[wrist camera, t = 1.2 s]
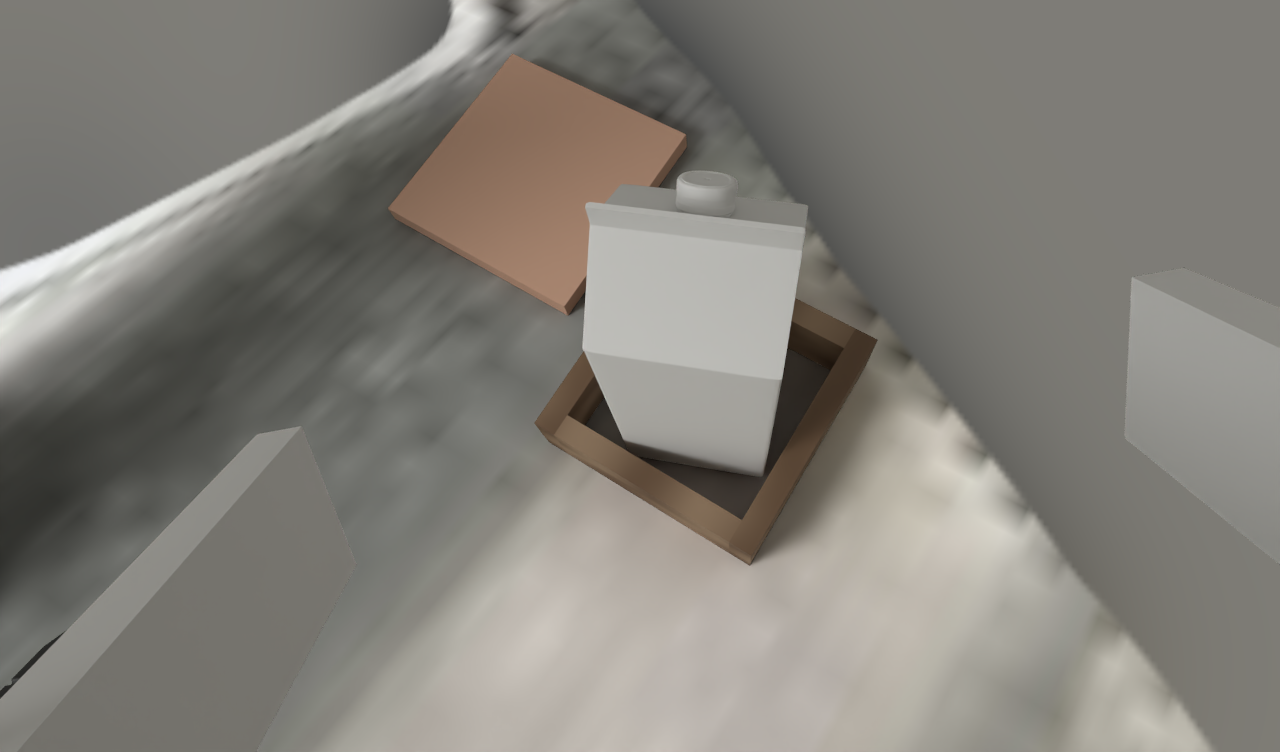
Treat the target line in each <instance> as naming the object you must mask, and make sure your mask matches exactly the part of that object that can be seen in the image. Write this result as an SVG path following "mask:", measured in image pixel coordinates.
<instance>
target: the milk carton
mask: <svg viewBox="0 0 1280 752" xmlns="http://www.w3.org/2000/svg"><path fill="white" fill-rule="evenodd" d="M737 190H738V181H737V179H736V178H735V177H733V176H731V175H728V174H725V173H721V172H715V171H704V170H697V171H689V172H685V173H683V174H681V175H680V176H679V177H678V179H677V187H676V190H675V189H666V188H658V187H649V186H640V185H629V184H621V185H620V186H619V187H618V188H617V189H616V191H615V192H614V193H613V194H612V195H611V196H610V198H609V199H608V200H607V201H606V202H605V203H604V204H603V203H594V202H588V203H586V205H585V209H586V212H587V216H588V219H589V222H590V229H589V246H588V263H587V280H586V296H585V313H584V330H583V348H582V349H583V350H584V352H585V354H586V356H587V359H588V361H589V363H590V365H591V368H592V370H593V372H594V374H595V377H596V379H597V381H598V383H599V386H600V388H601V390H602V392H603V395H604V397H605V399H606V401H607V404H608V406H609V408H610V410H611V413H612V415H613V417H614V419H615V422H616V424H617V426H618V429H619V431H620V433H621V435H622V438H623V440H624V442H625V444H626V447H627V449H628V451H629V452H630V453H631V454H633V455H635V456H638V457H644V458H649V459H655V460H661V461H667V462H673V463H679V464H685V465H691V466H696V467H702V468H708V469H714V470H720V471H726V472H732V473H738V474H744V475H750V476H757V477H762V476H763V475H764V472H765V467H766V461H767V456H768V451H769V446H770V440H771V435H772V430H773V425H774V419H775V414H776V409H777V403H778V398H779V393H780V388H781V382H782V378H783V371H784V365H785V359H786V352H787V346H788V340H789V333H790V327H791V321H792V314H793V308H794V302H795V296H796V289H797V283H798V277H799V270H800V264H801V258H802V251H803V246H804V240H805V235H806V229H805V228H806V219H807V211H808V205H802V204H797V203H789V202H780V201H772V200H763V199H753V198H745V197H736V196H737Z"/></svg>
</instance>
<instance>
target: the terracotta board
mask: <svg viewBox="0 0 1280 752" xmlns="http://www.w3.org/2000/svg"><path fill="white" fill-rule="evenodd" d="M686 147H687V141H686V134H684V133H682V132H680V131H677V130H675V129H673V128H671V127H669V126H667V125H665V124H662V123H660V122H658V121H656V120H654V119H652V118H649V117H647V116H645V115H643V114H641V113H639V112H637V111H634V110H632V109H630V108H628V107H626V106H624V105H621V104H619V103H617V102H615V101H613V100H611V99H609V98H606V97H604V96H602V95H600V94H598V93H596V92H593V91H591V90H589V89H587V88H585V87H583V86H581V85H578V84H576V83H574V82H572V81H570V80H568V79H565V78H563V77H561V76H559V75H557V74H555V73H553V72H550V71H548V70H546V69H544V68H542V67H540V66H538V65H535V64H533V63H531V62H529V61H527V60H525V59H522V58H520V57H518V56H516V55H514V54H512V55H511V56H510V57H509V58H508V60H507V61H506V62H505V63H504V65H503V66H502V67H501V68H500V70H499V71H498V72H497V73H496V75H495V76H494V77H493V78H492V80H491V81H490V82H489V83H488V84H487V86H486V87H485V88H484V89H483V91H482V92H481V93H480V94H479V96H478V97H477V98H476V99H475V101H474V102H473V103H472V104H471V106H470V107H469V108H468V109H467V111H466V112H465V113H464V114H463V116H462V117H461V118H460V119H459V121H458V122H457V123H456V124H455V125H454V127H453V128H452V129H451V130H450V132H449V133H448V134H447V135H446V137H445V138H444V139H443V140H442V142H441V143H440V144H439V145H438V147H437V148H436V149H435V150H434V152H433V153H432V154H431V155H430V157H429V158H428V159H427V160H426V162H425V163H424V164H423V165H422V167H421V168H420V169H419V170H418V171H417V173H416V174H415V175H414V176H413V178H412V179H411V180H410V181H409V183H408V184H407V185H406V186H405V188H404V189H403V190H402V191H401V193H400V194H399V195H398V196H397V198H396V199H395V200H394V201H393V203H392V204H391V205H390V206H389V208H388V209H389V211H390V212H391V213H392V215H393V216H394V218H395V219H397V220H398V221H400V222H402V223H404V224H405V225H407V226H409V227H411V228H413V229H414V230H416V231H418V232H420V233H421V234H423V235H425V236H427V237H429V238H430V239H432V240H434V241H436V242H438V243H439V244H441V245H443V246H445V247H447V248H448V249H450V250H452V251H454V252H455V253H457V254H459V255H461V256H463V257H464V258H466V259H468V260H470V261H472V262H473V263H475V264H477V265H479V266H480V267H482V268H484V269H486V270H488V271H489V272H491V273H493V274H495V275H497V276H498V277H500V278H502V279H504V280H505V281H507V282H509V283H511V284H513V285H514V286H516V287H518V288H520V289H522V290H523V291H525V292H527V293H529V294H530V295H532V296H534V297H536V298H538V299H539V300H541V301H543V302H545V303H547V304H548V305H550V306H552V307H554V308H555V309H557V310H559V311H561V312H563V313H564V314H566V315H569V314H570V312H571V311H572V309H573V308H574V307H575V305H576V304H577V302H578V301H579V299H580V298H581V297H582V295H583V294H584V292H585V291H586V280H587V263H588V246H589V229H590V222H589V219H588V216H587V212H586V209H585V205H586V203H588V202H594V203H603V204H604V203H605V202H606V201H607V200H608V199H609V198H610V196H611V195H612V194H613V193H614V192H615V191H616V189H617V188H618V187H619V186H620V185H621V184H629V185H640V186H649V187H659V186H660V184H661V183H662V182H663V180H664V179H665V177H666V176H667V174H668V173H669V172H670V170H671V169H672V167H673V166H674V164H675V163H676V162H677V160H678V159H679V157H680V156H681V155H682V153H683V152H684V150H685V149H686Z"/></svg>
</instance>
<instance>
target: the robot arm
mask: <svg viewBox="0 0 1280 752" xmlns="http://www.w3.org/2000/svg"><path fill="white" fill-rule="evenodd" d="M1125 438H1126V439H1127V440H1128V441H1129V442H1130V443H1132V444H1133V445H1134V446H1136V447H1137V448H1138V449H1139V450H1140V451H1141V452H1143V453H1144V454H1145V455H1146V456H1148V457H1149V458H1150V459H1151V460H1152V461H1154V462H1155V463H1156V464H1157V465H1159V466H1160V467H1161V468H1162V469H1164V470H1165V471H1166V472H1167V473H1168V474H1170V475H1171V476H1172V477H1173V478H1174V479H1176V480H1177V481H1178V482H1179V483H1181V484H1182V485H1183V486H1184V487H1185V488H1187V489H1188V490H1189V491H1190V492H1191V493H1193V494H1194V495H1195V496H1196V497H1198V498H1199V499H1200V500H1201V501H1202V502H1204V503H1205V504H1206V505H1207V506H1209V507H1210V508H1211V509H1212V510H1213V511H1215V512H1216V513H1217V514H1218V515H1220V516H1221V517H1222V518H1223V519H1225V520H1226V521H1227V522H1228V523H1229V524H1230V525H1232V526H1233V527H1235V529H1237V530H1238V531H1239V532H1240V533H1241V534H1243V535H1244V536H1245V537H1246V538H1248V539H1249V540H1250V541H1251V542H1252V543H1254V544H1255V545H1256V546H1257V547H1259V548H1260V549H1261V550H1262V551H1263V552H1265V553H1266V554H1267V555H1268V556H1270V557H1271V558H1272V559H1273V560H1274V561H1276V562H1277V563H1278V564H1279V565H1280V308H1279V307H1277V306H1275V305H1272V304H1270V303H1267V302H1265V301H1263V300H1260V299H1258V298H1256V297H1253V296H1251V295H1248V294H1246V293H1244V292H1241V291H1239V290H1236V289H1234V288H1232V287H1229V286H1227V285H1224V284H1222V283H1220V282H1217V281H1215V280H1212V279H1210V278H1208V277H1205V276H1203V275H1201V274H1198V273H1196V272H1193V271H1191V270H1189V269H1186V268H1179V269H1173V270H1168V271H1162V272H1157V273H1151V274H1146V275H1140V276H1134V277H1132V280H1131V304H1130V325H1129V348H1128V371H1127V395H1126V418H1125ZM356 565H357V564H356V562H355V559H354V557H353V554H352V552H351V549H350V547H349V544H348V542H347V539H346V537H345V534H344V532H343V529H342V526H341V524H340V521H339V519H338V516H337V514H336V511H335V509H334V506H333V504H332V501H331V499H330V496H329V494H328V491H327V489H326V486H325V484H324V481H323V479H322V476H321V473H320V471H319V468H318V466H317V463H316V461H315V458H314V456H313V453H312V451H311V448H310V446H309V443H308V441H307V438H306V436H305V433H304V431H303V428H302V426H300V427H294V428H289V429H283V430H277V431H272V432H266V433H261V434H257V435H256V436H255V437H254V438H253V439H252V440H251V441H250V442H249V443H248V444H247V445H246V446H245V447H244V448H243V449H242V450H241V451H240V452H239V453H238V454H237V455H236V456H235V457H234V458H233V459H232V461H231V462H230V463H229V464H228V465H227V466H226V467H225V468H224V469H223V470H222V471H221V472H220V473H219V474H218V475H217V476H216V477H215V478H214V479H213V480H212V481H211V482H210V483H209V484H208V485H207V486H206V487H205V488H204V489H203V490H202V491H201V492H200V493H199V495H198V496H197V497H196V498H195V499H194V500H193V501H192V502H191V503H190V504H189V505H188V506H187V507H186V508H185V509H184V510H183V511H182V512H181V513H180V514H179V515H178V516H177V517H176V518H175V519H174V520H173V521H172V522H171V523H170V524H169V525H168V526H167V528H166V529H165V530H164V531H163V532H162V533H161V534H160V535H159V536H158V537H157V538H156V539H155V540H154V541H153V542H152V543H151V544H150V545H149V546H148V547H147V548H146V549H145V550H144V551H143V552H142V553H141V554H140V555H139V556H138V557H137V558H136V559H135V560H134V562H133V563H132V564H131V565H130V566H129V567H128V568H127V569H126V570H125V571H124V572H123V573H122V574H121V575H120V576H119V577H118V578H117V579H116V580H115V581H114V582H113V583H112V584H111V585H110V586H109V587H108V588H107V589H106V590H105V591H104V592H103V593H102V595H101V596H100V597H99V598H98V599H97V600H96V601H95V602H94V603H93V604H92V605H91V606H90V607H89V608H88V609H87V610H86V611H85V612H84V613H83V614H82V615H81V616H80V617H79V618H78V619H77V620H76V621H75V622H74V623H73V624H72V625H71V626H70V627H69V629H68V630H66V631H65V632H64V633H62V634H61V635H59V636H58V637H57V638H55V639H54V640H52V641H51V642H50V643H48V644H47V645H45V646H44V647H43V648H42V649H41V650H40V651H39V652H38V653H37V654H36V655H35V656H34V657H33V658H32V659H31V660H30V661H29V662H28V663H27V664H26V665H25V666H24V667H23V668H22V669H21V670H20V671H19V672H18V673H17V674H16V675H15V676H14V677H13V678H12V684H11V685H8V686H5V687H4V688H3V689H2V690H1V691H0V752H256V751H257V749H258V747H259V745H260V743H261V742H262V740H263V738H264V736H265V734H266V732H267V730H268V729H269V727H270V725H271V723H272V721H273V719H274V717H275V716H276V714H277V712H278V710H279V708H280V706H281V704H282V703H283V701H284V699H285V697H286V695H287V693H288V691H289V690H290V688H291V686H292V684H293V682H294V680H295V678H296V677H297V675H298V673H299V671H300V669H301V667H302V665H303V664H304V662H305V660H306V658H307V656H308V654H309V652H310V651H311V649H312V647H313V645H314V643H315V641H316V639H317V638H318V636H319V634H320V632H321V630H322V628H323V626H324V625H325V623H326V621H327V619H328V617H329V615H330V613H331V612H332V610H333V608H334V606H335V604H336V602H337V600H338V599H339V597H340V595H341V593H342V591H343V589H344V587H345V586H346V584H347V582H348V580H349V578H350V576H351V575H352V573H353V571H354V569H355V567H356Z"/></svg>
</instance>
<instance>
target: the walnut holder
mask: <svg viewBox="0 0 1280 752" xmlns="http://www.w3.org/2000/svg"><path fill="white" fill-rule="evenodd" d="M876 342H877V339H875V338H873V337H871V336H869V335H867V334H865V333H863V332H861V331H859V330H857V329H855V328H853V327H851V326H849V325H847V324H845V323H843V322H841V321H839V320H837V319H835V318H833V317H831V316H829V315H827V314H825V313H823V312H821V311H819V310H817V309H815V308H814V307H812V306H810V305H808V304H806V303H804V302H802V301H800V300H798V299H796V298H795V302H794V308H793V314H792V321H791V327H790V333H789V340H788V346H787V347H788V348H789V349H791V350H793V351H795V352H797V353H799V354H801V355H803V356H805V357H807V358H808V359H810V360H812V361H814V362H816V363H818V364H820V365H822V366H824V367H826V368H827V369H829V370H831V371H830V373H829V374H828V376H827V378H826V379H825V381H824V383H823V384H822V386H821V388H820V390H819V391H818V393H817V395H816V396H815V398H814V400H813V401H812V403H811V405H810V406H809V408H808V410H807V411H806V413H805V415H804V417H803V418H802V420H801V422H800V423H799V425H798V427H797V428H796V430H795V432H794V433H793V435H792V437H791V438H790V440H789V442H788V444H787V445H786V447H785V449H784V450H783V452H782V454H781V455H780V457H779V459H778V460H777V462H776V464H775V465H774V467H773V469H772V471H771V472H770V474H769V476H768V477H767V479H766V481H765V482H764V484H763V486H762V487H761V489H760V491H759V492H758V494H757V496H756V498H755V499H754V501H753V503H752V504H751V506H750V508H749V509H748V511H747V513H746V514H745V516H744V518H743V519H742V520H741V519H740V518H738V517H736V516H735V515H733V514H731V513H730V512H728V511H726V510H725V509H723V508H721V507H720V506H718V505H716V504H715V503H713V502H711V501H710V500H708V499H706V498H705V497H703V496H701V495H700V494H698V493H696V492H695V491H693V490H691V489H690V488H688V487H686V486H685V485H683V484H681V483H680V482H678V481H676V480H675V479H673V478H671V477H670V476H668V475H666V474H665V473H663V472H661V471H660V470H658V469H656V468H655V467H653V466H651V465H650V464H648V463H646V462H645V461H643V460H641V459H640V458H638V457H636V456H635V455H633V454H631V453H630V452H628V451H626V450H625V449H623V448H621V447H620V446H618V445H616V444H615V443H613V442H611V441H610V440H608V439H606V438H605V437H603V436H601V435H600V434H598V433H596V432H595V431H593V430H591V429H590V428H588V427H586V426H585V425H586V424H587V422H588V421H589V419H590V418H591V416H592V415H593V413H594V412H595V410H596V409H597V407H598V406H599V404H600V403H601V401H602V400H603V398H604V395H603V392H602V390H601V388H600V386H599V383H598V381H597V379H596V377H595V374H594V372H593V370H592V368H591V365H590V363H589V361H588V359H587V356H586V354H585V352H583V353H582V355H581V356H580V357H579V359H578V360H577V362H576V363H575V365H574V366H573V368H572V369H571V370H570V372H569V373H568V375H567V376H566V378H565V379H564V381H563V382H562V384H561V385H560V386H559V388H558V389H557V391H556V392H555V394H554V395H553V397H552V398H551V400H550V401H549V402H548V404H547V405H546V407H545V408H544V410H543V411H542V413H541V414H540V415H539V417H538V418H537V420H536V421H535V425H536V426H537V427H538V428H539V430H540V431H541V432H542V434H543V435H544V436H545V438H546V439H547V440H548V441H549V442H550V443H552V444H553V445H555V446H556V447H558V448H560V449H561V450H563V451H565V452H566V453H568V454H569V455H571V456H573V457H574V458H576V459H578V460H579V461H581V462H582V463H584V464H586V465H587V466H589V467H591V468H592V469H594V470H595V471H597V472H599V473H600V474H602V475H604V476H605V477H607V478H608V479H610V480H612V481H613V482H615V483H617V484H618V485H620V486H621V487H623V488H625V489H626V490H628V491H630V492H631V493H633V494H634V495H636V496H638V497H639V498H641V499H643V500H644V501H646V502H647V503H649V504H651V505H652V506H654V507H656V508H657V509H659V510H660V511H662V512H664V513H665V514H667V515H669V516H670V517H672V518H673V519H675V520H677V521H678V522H680V523H681V524H683V525H685V526H686V527H688V528H690V529H691V530H693V531H694V532H696V533H698V534H699V535H701V536H703V537H704V538H706V539H707V540H709V541H711V542H712V543H714V544H716V545H717V546H719V547H720V548H722V549H724V550H725V551H727V552H729V553H730V554H732V555H733V556H735V557H737V558H738V559H740V560H742V561H743V562H745V563H746V564H748V565H750V564H751V562H752V561H753V559H754V557H755V556H756V554H757V552H758V550H759V549H760V547H761V545H762V543H763V542H764V540H765V538H766V537H767V535H768V533H769V531H770V530H771V528H772V526H773V525H774V523H775V521H776V519H777V518H778V516H779V514H780V512H781V511H782V509H783V507H784V506H785V504H786V502H787V500H788V499H789V497H790V495H791V494H792V492H793V490H794V488H795V487H796V485H797V483H798V481H799V480H800V478H801V476H802V475H803V473H804V471H805V469H806V468H807V466H808V464H809V463H810V461H811V459H812V457H813V456H814V454H815V452H816V450H817V449H818V447H819V445H820V444H821V442H822V440H823V438H824V437H825V435H826V433H827V432H828V430H829V428H830V426H831V425H832V423H833V421H834V419H835V418H836V416H837V414H838V413H839V411H840V409H841V407H842V406H843V404H844V402H845V401H846V399H847V397H848V395H849V394H850V392H851V390H852V388H853V387H854V385H855V383H856V382H857V380H858V378H859V376H860V375H861V373H862V371H863V370H864V368H865V366H866V364H867V362H868V360H869V358H870V355H871V353H872V351H873V349H874V347H875V344H876Z"/></svg>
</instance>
